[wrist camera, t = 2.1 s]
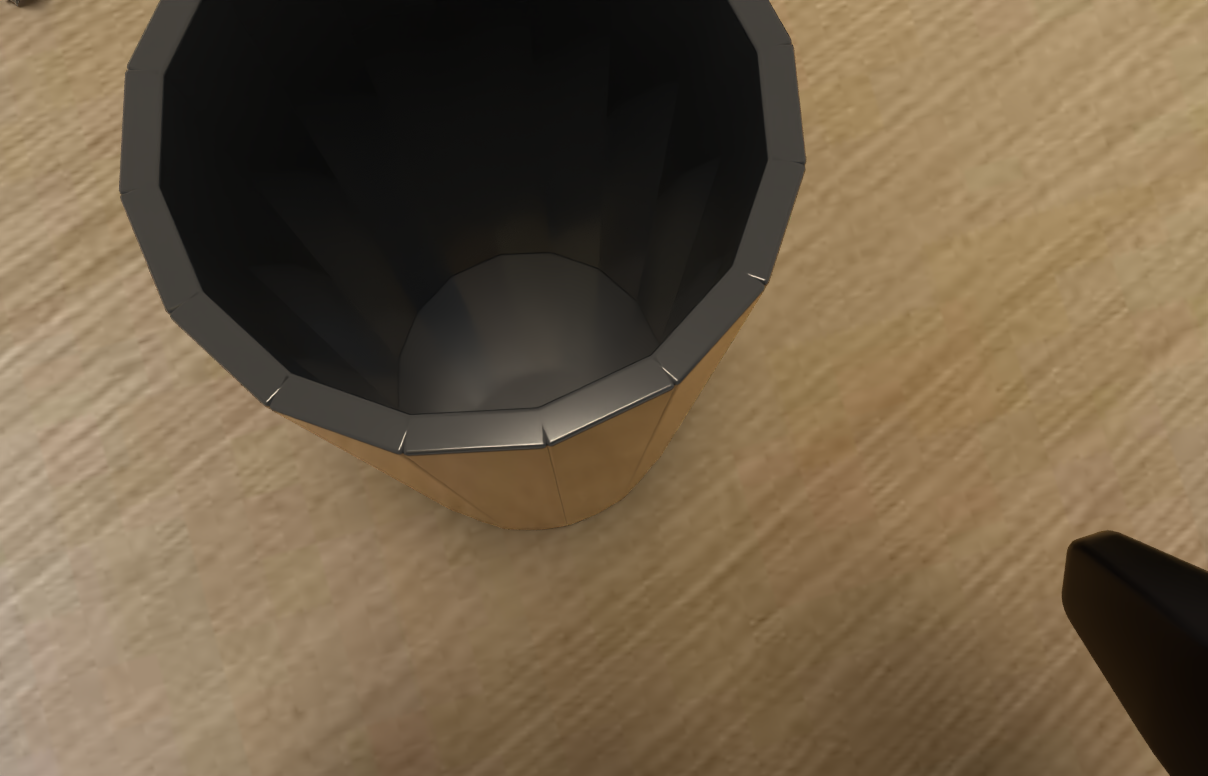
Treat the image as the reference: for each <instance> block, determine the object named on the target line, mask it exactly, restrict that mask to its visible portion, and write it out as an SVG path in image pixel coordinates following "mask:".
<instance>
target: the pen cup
mask: <svg viewBox="0 0 1208 776" xmlns="http://www.w3.org/2000/svg"><path fill="white" fill-rule="evenodd" d="M805 164H806V153H805V144H804V135H803V126H802V117H801V108H800V98H799V89H798V80H797V71H796V62H795V53H794V47H793V45H792V42H791V38H790V37H789V35H788V33H787V31H786V30H785V28H784V26H783V24H782V23H781V21H780V19H779V18H778V16H777V14H776V12H775V11H774V9H773V7H772V5H771V4H770V2H769V0H160V1H159V3H158V5H157V7H156V9H155V11H154V13H153V15H152V17H151V19H150V21H149V23H148V25H147V27H146V29H145V31H144V33H143V35H142V37H141V39H140V41H139V43H138V45H137V47H136V49H135V51H134V53H133V55H132V56H131V58H130V60H129V62H128V64H127V71H126V72H125V85H124V104H123V124H122V143H121V162H120V181H119V191H120V194H121V196H120V198H121V202H122V204H123V207H124V209H125V212H126V214H127V217H128V219H129V222H130V224H131V226H132V229H133V231H134V234H135V236H136V239H137V241H138V244H139V246H140V249H141V251H142V254H143V256H144V259H145V261H146V263H147V266H148V268H149V271H150V273H151V276H152V278H153V281H154V283H155V286H156V288H157V291H158V293H159V295H160V298H161V300H162V303H163V305H164V308H165V310H166V312H167V313H168V314H170V317H171V319H172V320H173V321H174V322H175V323H176V324H177V325H178V326H179V327H180V328H181V329H182V330H183V331H185V332H186V333H187V334H188V335H189V336H190V337H191V338H192V339H193V340H194V341H195V342H196V343H197V344H198V345H199V346H201V347H202V348H203V349H204V350H205V351H206V352H207V353H208V354H209V355H210V356H211V357H212V358H213V359H214V360H216V361H217V362H218V363H219V364H220V365H221V366H222V367H223V368H224V369H225V370H226V371H227V372H228V373H229V374H231V375H232V376H233V377H234V378H235V379H236V380H237V381H238V382H239V383H240V384H241V385H242V386H243V387H244V388H246V389H247V390H248V391H249V392H250V393H251V394H252V395H253V396H254V397H255V398H256V399H257V400H258V401H259V402H260V403H262V404H263V405H264V406H265V407H267V408H269V409H271V410H272V411H274V412H275V413H277V414H279V415H281V416H283V417H284V418H286V419H288V420H290V421H292V422H293V423H295V424H297V425H299V426H301V427H302V428H304V429H306V430H308V431H310V432H311V433H313V434H315V435H317V436H319V437H320V438H322V439H324V440H326V441H328V442H329V443H331V444H333V445H335V446H337V447H338V448H340V449H342V450H344V451H346V452H347V453H349V454H351V455H353V456H355V457H356V458H358V459H360V460H362V461H364V462H365V463H367V464H369V465H371V466H373V467H374V468H376V469H378V470H380V471H381V472H383V473H385V474H387V475H389V476H390V477H392V478H394V479H396V480H398V481H399V482H401V483H403V484H405V485H407V486H408V487H410V488H412V489H414V490H416V491H417V492H419V493H421V494H423V495H425V496H426V497H428V498H430V499H432V500H434V501H435V502H437V503H439V504H441V505H443V506H444V507H446V508H448V509H450V510H452V511H455V512H458V513H461V514H463V515H466V516H469V517H471V518H474V519H476V520H478V521H481V522H484V523H488V524H491V525H494V526H497V527H500V528H503V529H508V530H509V529H518V530H541V529H550V528H558V527H562V526H567V525H571V524H573V523H577V522H579V521H582V520H584V519H587V518H589V517H592V516H594V515H596V514H598V513H600V512H601V511H603V510H605V509H607V508H608V507H610V506H612V505H613V504H614V503H616V502H619V501H621V499H623V498H624V497H625V496H626V495H627V494H628V493H629V492H630V491H631V489H632V488H633V487H634V486H635V485H636V484H637V483H639V482H640V480H641V479H642V478H643V477H644V475H645V474H646V473H647V471H648V470H649V469H650V468H651V467H652V466H653V465H654V463H655V462H656V461H657V460H658V459H659V458H660V457H661V455H662V454H663V452H664V450H665V449H666V447H667V446H668V444H669V442H670V441H671V439H672V438H673V436H674V434H675V433H676V431H677V429H678V428H679V426H680V425H681V423H682V421H683V420H684V418H685V417H686V415H687V413H688V412H689V410H690V409H691V407H692V405H693V404H694V402H695V401H696V399H697V397H698V396H699V394H700V393H701V391H702V389H703V388H704V386H705V385H706V383H707V381H708V380H709V378H710V377H711V375H712V373H713V372H714V370H715V369H716V367H717V365H718V364H719V362H720V361H721V359H722V357H723V356H724V354H725V353H726V351H727V349H728V348H729V346H730V345H731V343H732V341H733V340H734V338H735V337H736V335H737V333H738V332H739V330H740V329H741V327H742V325H743V324H744V322H745V321H746V319H747V317H748V316H749V314H750V312H751V311H752V309H753V308H754V306H755V304H756V303H757V301H758V300H759V298H760V296H761V295H762V293H763V292H764V290H765V288H766V286H767V285H768V283H769V281H770V278H771V275H772V272H773V268H774V265H775V262H776V259H777V256H778V253H779V250H780V247H781V244H782V241H783V238H784V235H785V232H786V229H787V225H788V222H789V219H790V216H791V213H792V210H793V207H794V204H795V201H796V198H797V195H798V192H799V189H800V186H801V182H802V179H803V176H804V173H805Z"/></svg>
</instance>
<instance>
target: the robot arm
mask: <svg viewBox="0 0 1208 776" xmlns="http://www.w3.org/2000/svg"><path fill="white" fill-rule="evenodd" d="M1062 602H1063V607H1064V610H1065V612H1066V615H1067V617H1068V619H1069V620H1070V622H1071V624H1072V625H1073V627H1074V629H1075V630H1076V632H1077V633H1078V635H1079V637H1080V638H1081V640H1082V641H1083V643H1084V645H1085V646H1086V648H1087V649H1088V651H1089V653H1090V654H1091V656H1092V657H1093V659H1094V660H1095V662H1096V664H1097V665H1098V667H1099V668H1100V670H1101V672H1102V673H1103V675H1104V676H1105V678H1106V680H1107V681H1108V683H1109V684H1110V686H1111V688H1112V689H1113V691H1114V692H1115V694H1116V696H1117V697H1118V699H1119V700H1120V702H1121V704H1122V705H1123V707H1124V708H1125V710H1126V712H1127V713H1128V715H1129V716H1130V718H1131V720H1132V721H1133V723H1134V724H1135V726H1136V727H1137V729H1138V731H1139V732H1140V734H1141V735H1142V737H1143V738H1144V740H1145V741H1146V743H1147V744H1148V746H1149V747H1150V749H1151V750H1152V752H1153V753H1154V755H1155V756H1156V757H1157V759H1158V760H1159V761H1160V763H1161V764H1162V765H1163V767H1164V768H1165V770H1166V771H1167V772H1168V774H1169V775H1170V776H1208V571H1206V570H1204V569H1201V568H1199V567H1197V566H1195V565H1192V564H1190V563H1188V562H1185V561H1183V560H1181V559H1179V558H1176V557H1174V556H1172V555H1169V554H1167V553H1165V552H1163V551H1160V550H1158V549H1156V548H1153V547H1151V546H1149V545H1147V544H1144V543H1142V542H1140V541H1138V540H1135V539H1133V538H1131V537H1128V536H1126V535H1124V534H1121V533H1119V532H1115V531H1108V530H1106V531H1101V532H1097V533H1094V534H1091V535H1088V536H1085V537H1082V538H1079V539H1076V540H1074V541H1072V543H1071V544H1070V545H1069V547H1068V550H1067V555H1066V563H1065V571H1064V579H1063V587H1062Z"/></svg>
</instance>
